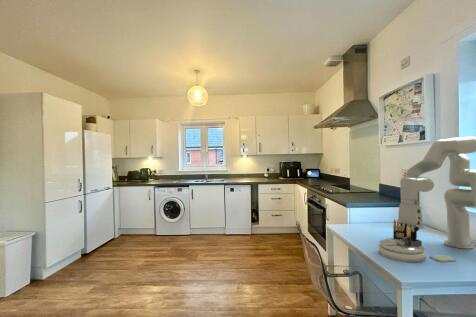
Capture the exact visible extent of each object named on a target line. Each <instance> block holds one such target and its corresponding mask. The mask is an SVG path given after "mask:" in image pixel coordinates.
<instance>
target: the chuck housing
mask: <svg viewBox="0 0 476 317" xmlns="http://www.w3.org/2000/svg"><path fill="white" fill-rule="evenodd" d="M378 253H379V255H381V256H382V257H385V258H387V259H389V260H393V261H398V262H402V263H403V262H404V263H412V264H415V263H416V264H417V263H423V262H425V261H426V260H427V259H426V250H425V249H424V253H422V254H401V253H396V252H392V251H388V250H385V249H383V248H382V247H380V243H379V244H378Z"/></svg>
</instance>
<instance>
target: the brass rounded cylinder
mask: <svg viewBox="0 0 476 317" xmlns="http://www.w3.org/2000/svg"><path fill="white" fill-rule="evenodd" d="M411 231H412V228H411V225H409V224H407V225H406V237H407V240H410V241H414V239H411Z"/></svg>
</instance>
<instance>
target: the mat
mask: <svg viewBox="0 0 476 317" xmlns="http://www.w3.org/2000/svg"><path fill="white" fill-rule="evenodd" d="M429 258H430V259H432V260H435V261H437V262H439V263H452V262H456V261H457V260H456V259H455V258H453V257H450V256H448V255H443V254H442V255H441V254H439V255H429Z"/></svg>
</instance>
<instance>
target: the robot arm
mask: <svg viewBox="0 0 476 317" xmlns="http://www.w3.org/2000/svg"><path fill="white" fill-rule="evenodd" d="M475 152H476V137H475V136H465V137H463V136H462V137H450V138H447V139H446V138H444V139H437V140H435V141H434V142H433V143H432V144H431V146H430V148H429V149H428V151H427V152H426V155H425V156H424V157H423V159H422V160H420V161H419V162H417V163H415V164H413V165H412V166H411V167H410V168H408V169H407V171H406V172H405V174H404V175H403V177H401V179H400V181H399V183H400V185H399V186H400V187H399V188H400V203H399V205H398V206H399V207H398V218H397V220H398V221H396V223H397V222H398V223H399V226H400V225H401V226H402V229H404V237H406V225H407V224H409V225H411V228H412V231H411V239H417V238H418V231H419V230H421V229H424V224H423V222H424V221H423V219H424V218H423V213H422V208H421V205H420V204H421V201H419V192H421V193H427V192H430V191H432V190H433V188H434V186H435V183H434V181H433V180H432V179H431V178H429V177H425V176H421V175H423V174H426V173H430V172H434V171H436V170H439V169H440V168H441V167H442V166H443V164H444V162H445V160H446V158H447V157H448V159H449V172H448V173H449V176H448V178H449V180H448V181H449V184H451V185H452V186H454V187H455V186H456V187H464V188H447V190H445V192H444V194H443V195H444V196H443V197H444V202H445V205H446V220H447V221H446V223H447V224H446V227H447V228H446V229H447V230H446V231H447V232H446V233H447V234H446V235H447V239H445V240H444V241H443V244H445V245H446V246H449V247H454V248H458V249H463V250H464V249H465V250H466V249H469V250H471V249H473V248H475V246H474V244H472V243H476V238H472V237H471V236H470V214H469V212H468V210H467V209H466V208H471V209H476V169H470V168H471V167H470V165H471V162H470V161H471V160H470V158H469V157H468V155H467V154H472V153H475ZM465 188H466V189H465ZM467 188H470V189H467Z"/></svg>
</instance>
